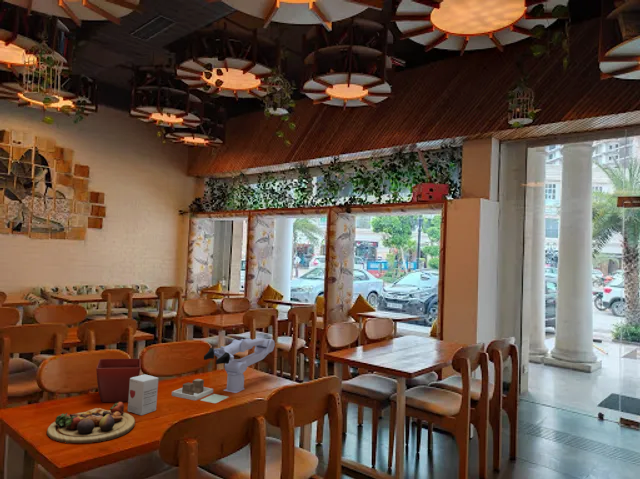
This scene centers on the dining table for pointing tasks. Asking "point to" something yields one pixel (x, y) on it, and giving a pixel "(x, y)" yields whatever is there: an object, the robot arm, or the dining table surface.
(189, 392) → the plain block
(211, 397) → the sage mat
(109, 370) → the plant pot
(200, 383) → the labelled block
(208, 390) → the parts tray
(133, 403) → the supplement box
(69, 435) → the wooden plate with food
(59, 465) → the dining table surface
